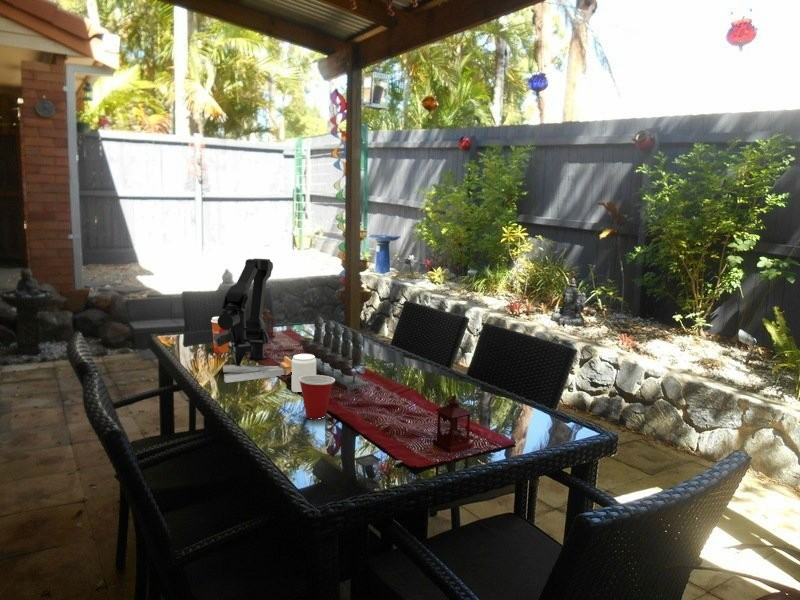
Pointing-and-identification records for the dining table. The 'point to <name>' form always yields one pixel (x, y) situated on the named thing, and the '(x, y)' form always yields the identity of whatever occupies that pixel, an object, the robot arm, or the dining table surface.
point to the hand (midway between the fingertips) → (237, 365)
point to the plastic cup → (316, 394)
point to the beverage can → (302, 369)
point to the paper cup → (216, 330)
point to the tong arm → (245, 368)
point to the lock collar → (287, 365)
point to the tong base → (254, 375)
